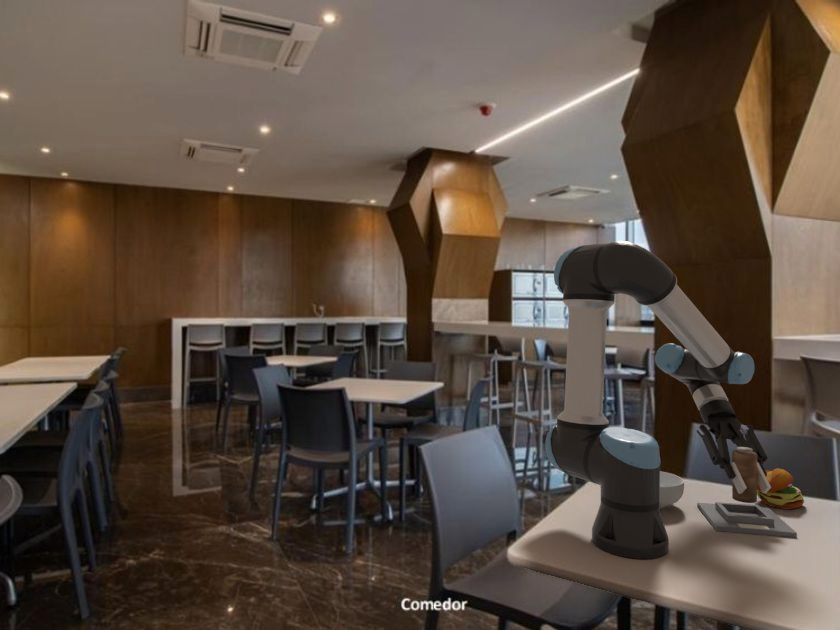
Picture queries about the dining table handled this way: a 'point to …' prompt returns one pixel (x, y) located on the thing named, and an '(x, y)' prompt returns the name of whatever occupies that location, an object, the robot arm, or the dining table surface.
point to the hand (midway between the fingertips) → (754, 490)
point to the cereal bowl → (670, 489)
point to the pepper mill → (746, 474)
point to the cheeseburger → (781, 491)
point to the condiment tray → (745, 519)
